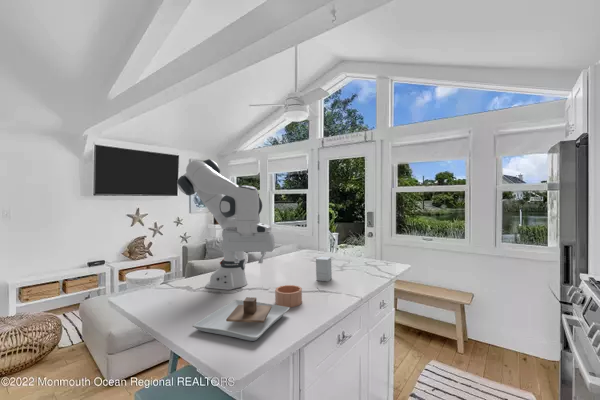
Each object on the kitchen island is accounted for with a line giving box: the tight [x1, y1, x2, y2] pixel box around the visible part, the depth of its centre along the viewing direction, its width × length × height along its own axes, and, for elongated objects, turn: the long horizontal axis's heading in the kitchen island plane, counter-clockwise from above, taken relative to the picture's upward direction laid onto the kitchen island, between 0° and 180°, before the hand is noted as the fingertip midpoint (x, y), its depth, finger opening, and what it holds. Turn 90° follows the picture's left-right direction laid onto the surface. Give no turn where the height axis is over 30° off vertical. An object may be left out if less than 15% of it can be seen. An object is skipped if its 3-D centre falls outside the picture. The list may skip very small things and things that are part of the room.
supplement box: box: [315, 256, 333, 282], centre depth 166 cm, size 7×7×13 cm
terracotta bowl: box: [274, 284, 303, 308], centre depth 131 cm, size 12×12×6 cm
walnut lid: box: [226, 296, 272, 323], centre depth 110 cm, size 14×14×6 cm
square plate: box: [192, 299, 291, 342], centre depth 110 cm, size 27×27×4 cm
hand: (248, 263), depth 110 cm, fingers open, 8 cm apart
